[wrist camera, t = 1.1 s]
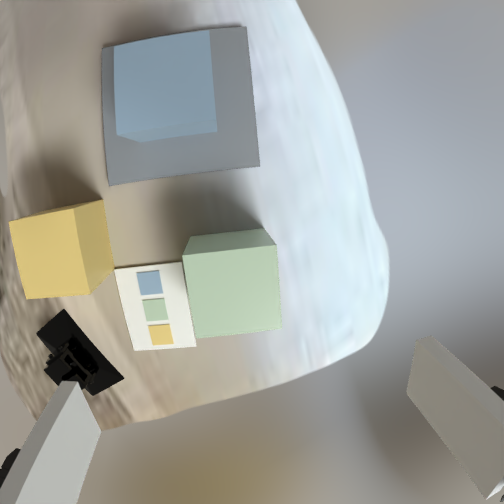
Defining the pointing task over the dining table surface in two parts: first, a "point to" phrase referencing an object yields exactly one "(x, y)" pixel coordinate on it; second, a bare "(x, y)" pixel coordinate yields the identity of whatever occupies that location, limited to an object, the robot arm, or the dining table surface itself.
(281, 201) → the dining table surface
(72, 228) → the ochre brick
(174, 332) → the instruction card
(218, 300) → the sage brick
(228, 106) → the slate board
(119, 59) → the blue base brick
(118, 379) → the black mounting plate
